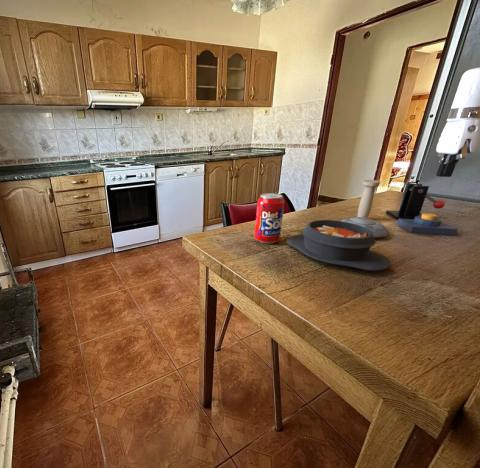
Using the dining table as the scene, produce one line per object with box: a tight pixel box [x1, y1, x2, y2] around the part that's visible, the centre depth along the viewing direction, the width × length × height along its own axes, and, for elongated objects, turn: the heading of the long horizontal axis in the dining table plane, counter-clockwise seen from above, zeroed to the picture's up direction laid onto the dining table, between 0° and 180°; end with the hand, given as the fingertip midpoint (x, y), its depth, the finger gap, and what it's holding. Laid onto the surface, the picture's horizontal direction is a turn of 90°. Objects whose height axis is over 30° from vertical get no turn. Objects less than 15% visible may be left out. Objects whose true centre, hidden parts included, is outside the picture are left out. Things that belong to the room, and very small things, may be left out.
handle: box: [356, 179, 381, 218], centre depth 98 cm, size 5×6×15 cm
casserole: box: [286, 219, 392, 272], centre depth 71 cm, size 25×19×8 cm
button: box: [421, 212, 438, 220], centre depth 87 cm, size 4×4×2 cm
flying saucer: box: [340, 216, 390, 239], centre depth 87 cm, size 15×15×6 cm
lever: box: [409, 185, 446, 210], centre depth 98 cm, size 13×3×3 cm
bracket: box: [385, 183, 430, 221], centre depth 100 cm, size 11×9×13 cm
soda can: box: [253, 192, 286, 245], centre depth 81 cm, size 8×8×15 cm
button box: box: [396, 216, 459, 236], centre depth 88 cm, size 12×9×4 cm
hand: (443, 176), depth 84 cm, fingers closed
